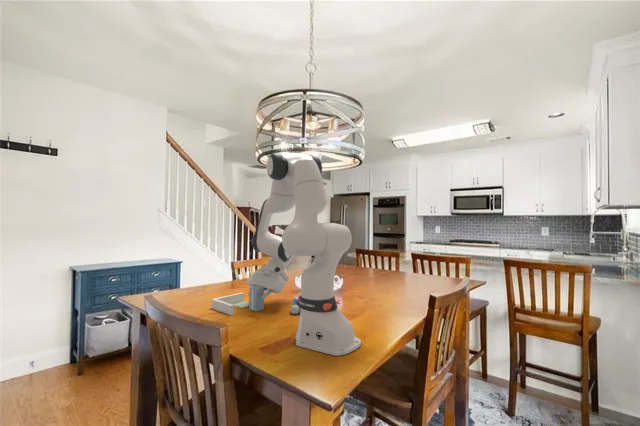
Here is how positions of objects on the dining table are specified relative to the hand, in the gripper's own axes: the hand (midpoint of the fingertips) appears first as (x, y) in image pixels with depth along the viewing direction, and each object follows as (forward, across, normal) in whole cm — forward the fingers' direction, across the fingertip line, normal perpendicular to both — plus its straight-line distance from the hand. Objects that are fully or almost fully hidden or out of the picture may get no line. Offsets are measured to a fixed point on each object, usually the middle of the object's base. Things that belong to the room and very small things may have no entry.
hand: (255, 297), depth 139 cm
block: (+3, 0, +4) cm, 5 cm away
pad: (+3, -10, +4) cm, 11 cm away
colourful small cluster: (-3, +18, +12) cm, 21 cm away
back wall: (+6, -14, +1) cm, 16 cm away
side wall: (+12, -7, -4) cm, 14 cm away
